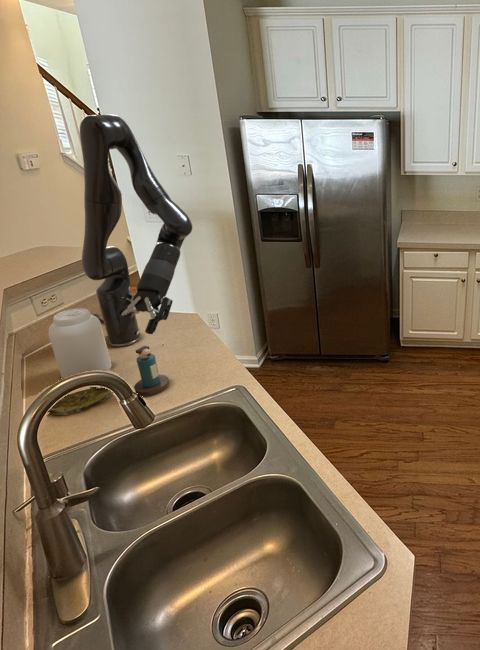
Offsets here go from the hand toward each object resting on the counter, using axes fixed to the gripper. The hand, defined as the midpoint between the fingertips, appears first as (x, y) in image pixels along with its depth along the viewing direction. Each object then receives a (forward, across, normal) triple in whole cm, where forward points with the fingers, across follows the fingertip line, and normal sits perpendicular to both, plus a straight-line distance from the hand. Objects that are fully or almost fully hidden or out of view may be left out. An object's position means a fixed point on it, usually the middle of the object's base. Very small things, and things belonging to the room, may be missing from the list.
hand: (135, 331), depth 117 cm
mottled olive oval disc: (+20, -14, +6) cm, 25 cm away
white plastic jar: (+11, -25, +15) cm, 31 cm away
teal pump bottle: (+11, 0, +13) cm, 17 cm away
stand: (+12, 0, +14) cm, 19 cm away
